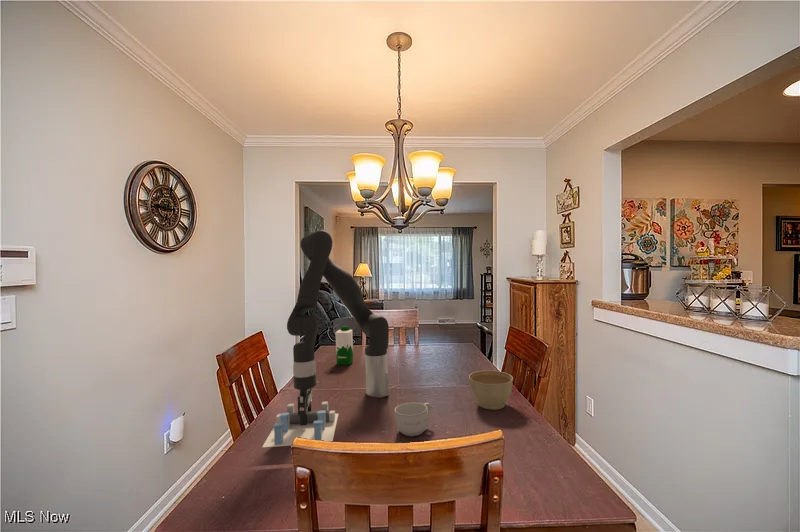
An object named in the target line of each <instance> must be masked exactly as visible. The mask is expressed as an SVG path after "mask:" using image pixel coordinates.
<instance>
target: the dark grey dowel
mask: <svg viewBox="0 0 800 532" xmlns="http://www.w3.org/2000/svg"><path fill="white" fill-rule="evenodd" d="M317 411H318V410H316V411H312V410H311V412H307V423H314V421H318V415H317ZM280 414H281V413H277V414H276V416H275V419H276V420H275V421H276V422H275V423H281V417H280ZM335 414H336V410H330V409H328V410H327V411H326V413H325V416H326V422H329V421H335ZM289 419H290V424H299V423H300V415H298V411H296V412H295V411H294V413H289Z"/></svg>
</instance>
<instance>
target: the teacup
mask: <svg viewBox="0 0 800 532" xmlns="http://www.w3.org/2000/svg"><path fill="white" fill-rule="evenodd" d="M431 412H432V405H431V403H429V402H425V403H422V402H414V401H413V402H406V403H405V402H404V403H401V404H399V405H397V406H396V407H395V408H394V416H395V417H394V419H395V425H396V428H397V430H398V432H400V433H402V435H404V436H406V437H415V436H416V437H417V436H419V435H422V434H423V432H425V430H427V427H428V423H429V419H428V418H429V416H430V415H431Z"/></svg>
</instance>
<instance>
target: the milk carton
mask: <svg viewBox="0 0 800 532" xmlns="http://www.w3.org/2000/svg"><path fill="white" fill-rule="evenodd" d="M340 328H341V329H338V330H336V331H335V332H334V333H335V334H334V335H335V351H336V353H335V355H336V357H335V358H336V366H351V364H352V363H353V362H354V346H353V345H354V342H353V341H354V340H353V336H354V335H353V329H349V325H342V326H340Z"/></svg>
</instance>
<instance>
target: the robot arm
mask: <svg viewBox="0 0 800 532" xmlns="http://www.w3.org/2000/svg"><path fill="white" fill-rule="evenodd" d="M300 248H301V250H302V252H303V254H304V255H305V257H306V258H307V260H309V261H310V262H309V265H308V268H307V269H306V272H305V274H304V276H303V277H302V279H301V283H300V285H299V290H298V294H297V298H296V302H295V305H294V307H293V309H292V311H291V313H290V315H289V317H288V320H287V322H286V323H287V324H286V328H287V332H288V334H289V335H290V336H294V337H305V338H304V341H300V342H297V343H295V344H294V345H293V349H292V350H293V351H292V353H293V366H292V372H293V373H292V376H293V377H292V378H293V388H294V389H295V390H299V393H298V396H297V398H296V399H297V412H298V415H300V425H301V426H304V425H307V412H311V411H312V402H313V399H314V396H313V388H315V387H316V385H317V371H316V367H317V366H316V361H315V360H316V359H315V358H316V356H315V346H316V340H317V336H318V331H319V325H320V323H319V320H318V318H317V317H316V316H314V315H311V314H306V313H307V312H309V311H312V310H315V309H316V308H317V307H318V300H319V295H320V289H321V283H322V280H323V277H324V279H325V280H326V282H327V283H328V284H329V286H330V287H331V289H332V290H333V291H334V292H335V294H336V296H337V297H338V298H339V300H341V302H342V303H343V305H344V306H345V307H346V308H347V309H348V312H350V313H351V315H352V316H353V318H354V319H355V321H356V323H357V325H358V327H359V328H360V330H361V332H362V333H363V334H364V335H365V336H368V337H369V339H368V345H366V346H365V348H364V359H365V360H364V362H365V364H364V366H365V393H366V395H367V396H368V397H374V398H377V399H382V398H385V397H388V396H389V395H390V394H389V372H388V371H389V370H388V349H389V341H390V340H389V339H390V336H389V335H390V328H389V322H388V320H387V319H386V318H385V317H384V316H380V315H377V314H374V312H373V311H372V310H371V309H370V308H369V306H368V305H367V303H366V302H365V300H364V299H365V298H364V295H363V292H362V289H361V286H360V285H359V284H358V282H357V281H356V279H355V277H353V275H352V274H351V273H350V272H348V271H347V270H346V269H344V268H343V267H341V266H339V265H338V264H336V263H335V262H334V261H333V260H332V259H331V258H330V255H331V252H332V248H333V239H332V236H331V235H330V233H329V232H328V231H326V230H323V229H320V230H316V231H314V232H311V233H309V234H307V235H304V237H302V238H301V241H300ZM305 314H306V315H305ZM302 409H303V410H302Z"/></svg>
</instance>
